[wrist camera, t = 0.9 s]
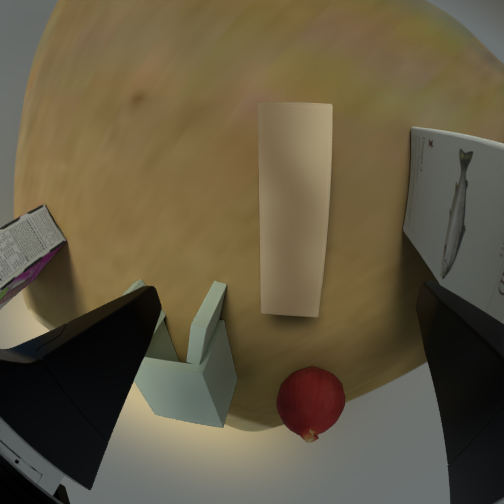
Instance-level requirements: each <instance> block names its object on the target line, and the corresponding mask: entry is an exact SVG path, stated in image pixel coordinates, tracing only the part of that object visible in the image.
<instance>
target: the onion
mask: <svg viewBox="0 0 504 504" xmlns="http://www.w3.org/2000/svg"><path fill="white" fill-rule="evenodd" d="M344 406H345V394H344V390H343V386H342V383H341V382H340V381H339V379H338V378H337V377H336V376H335V375H333V374H332V373H330V372H328V371H326V370H323V369H320V368H317V367H312V366H311V367H308V368H305V369H301V370H298V371H296V372H294V373H292V374H291V375H290V376H289V377H288V378H287V379H286V380H285V381H284V382H283V383H282V384H281V387H280V390H279V393H278V396H277V410H278V413H279V415H280V417H281V419H282V421H283V423H284V424H285V425H286V426H287V427H288V428H289V429H290V430H291V431H293V432H294V433H296V434H298V435H300V436H301V437H302V438H303V439H304V440H305V441H306V442H313V441H315V440H317V439H318V434H321V433H323V432H325V431H326V430H328V429H329V428H330V427H331V426H333V425H334V424H335V423H336V421H337V420H338V418H339V417H340V415H341V413H342V411H343V409H344Z"/></svg>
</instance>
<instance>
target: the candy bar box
mask: <svg viewBox="0 0 504 504" xmlns="http://www.w3.org/2000/svg"><path fill="white" fill-rule="evenodd" d="M65 242H66V238H65V236H64V235H63V233H62V231H61V230H60V228H59V227H58V225H57V224H56V222H55V221H54V219H53V218H52V216H51V214H50V212H49V210H48V209H47V207H46V206H45V204H43V205H41V206H39V207H37V208H35V209H33V210H31V211H29V212H28V213H26V214H24V215H22V216H20V217H18V218H16V219H15V220H13V221H11V222H9V223H8V224H6V225H4V226H3V227H1V228H0V309H1V308H2V307H3V306H4V305H6V304H7V303H8V302H9V301H10V300H11V299H12V298H13V297H14V296H16V295H17V294H18V293H19V292H20V291H21V290H23V289H24V288H25V287H26V286H27V285H28V284H30V283H31V282H32V281H33V280H35V278H36V277H37V275H38V274H39V273H40V272H41V270H42V269H43V268H44V267H45V265H46V264H47V263H48V262H49V260H50V259H51V258H52V257H53V256H54V255H55V253H56V252H57V251H58V250H59V249H60V247H61V246H62V245H63V244H64V243H65Z"/></svg>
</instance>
